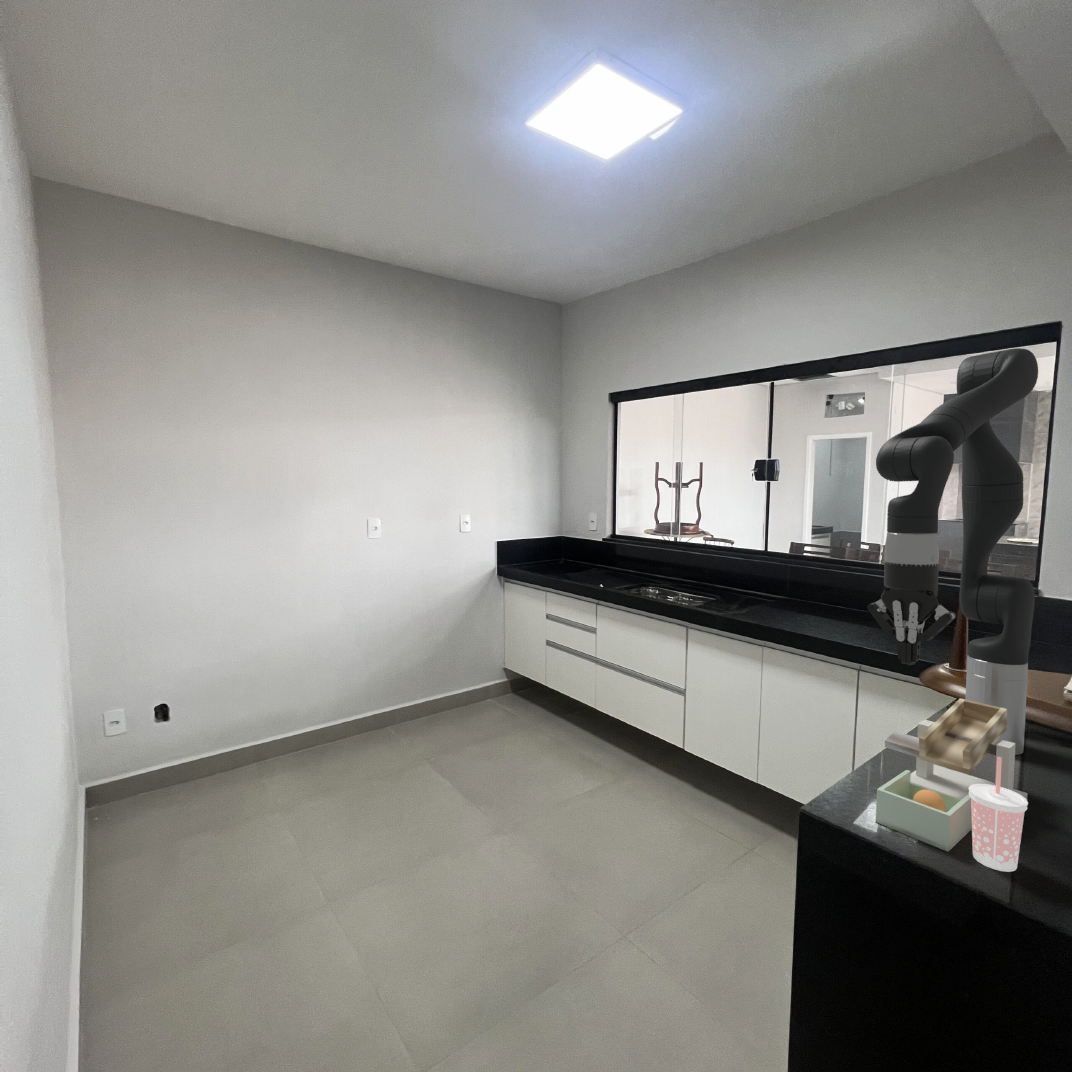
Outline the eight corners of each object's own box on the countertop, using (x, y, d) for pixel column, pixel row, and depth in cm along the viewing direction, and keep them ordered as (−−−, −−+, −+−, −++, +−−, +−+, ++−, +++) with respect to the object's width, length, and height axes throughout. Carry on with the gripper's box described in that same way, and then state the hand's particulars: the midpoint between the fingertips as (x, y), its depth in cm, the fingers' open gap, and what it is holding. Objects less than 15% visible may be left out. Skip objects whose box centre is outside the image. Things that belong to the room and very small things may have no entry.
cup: (906, 799, 93) (908, 768, 93) (976, 824, 86) (977, 791, 85) (875, 822, 86) (876, 789, 86) (948, 851, 79) (949, 815, 79)
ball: (906, 808, 86) (914, 815, 89) (937, 820, 83) (945, 826, 85) (912, 782, 87) (921, 789, 90) (943, 793, 84) (951, 799, 86)
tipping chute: (928, 715, 107) (927, 690, 106) (1013, 737, 97) (1013, 710, 96) (885, 755, 96) (884, 727, 95) (976, 784, 86) (976, 754, 85)
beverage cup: (1025, 859, 77) (1030, 756, 76) (1023, 882, 73) (1029, 772, 72) (968, 841, 81) (972, 743, 81) (963, 861, 77) (967, 758, 76)
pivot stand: (927, 767, 104) (929, 712, 104) (1027, 799, 93) (1030, 738, 93) (899, 787, 97) (901, 728, 96) (1003, 824, 86) (1007, 757, 85)
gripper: (967, 561, 93) (963, 668, 94) (877, 555, 103) (875, 651, 105) (950, 565, 88) (946, 677, 90) (858, 558, 99) (856, 659, 100)
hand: (908, 663), depth 97 cm, fingers closed
